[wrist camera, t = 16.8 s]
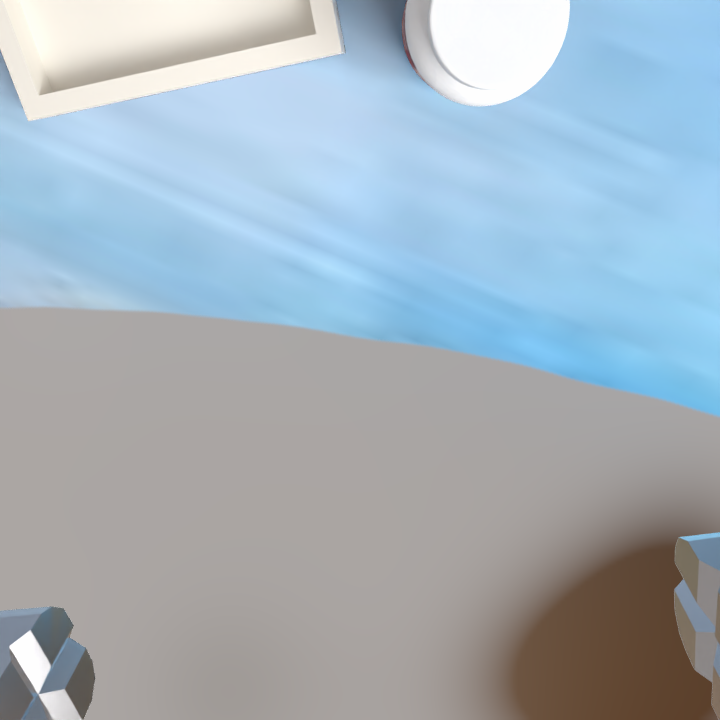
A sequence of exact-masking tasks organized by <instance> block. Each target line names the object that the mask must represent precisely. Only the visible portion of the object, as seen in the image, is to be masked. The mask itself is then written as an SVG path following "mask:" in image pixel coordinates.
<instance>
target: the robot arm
mask: <svg viewBox="0 0 720 720" xmlns="http://www.w3.org/2000/svg"><path fill="white" fill-rule="evenodd" d="M675 563H676V565H677V567H678V569H679V571H680V573H681V575H682V577H683V578H684V579H683V580H682V581H681V583H680V584H679V585H678V586H677V587H676V588H675V590H674V594H675V596H674V597H675V613H676V618H677V624H678V629H679V633H680V636H681V639H682V642H683V644H684V647H685V650H686V652H687V654H688V657H689V658H690V661H691V663H692V665H693V667H694V669H695V671H697V672H698V673H700V674H701V675H702V676H704V677H706V678H707V679H708V680H710V681H711V682H712V707H713V709H714V711H715V713H716V715H717V717H718V719H719V720H720V532H719V533H712V534H703V535H694V536H686V537H679V538H678V541H677V543H676V546H675ZM73 626H74V625H73V623H72V622H71V620H70V618H69V617H68V615H67V613H66V612H65V610H64V609H63V608H58V607H41V608H29V609H16V610H4V611H0V720H83V719H84V717H85V715H86V713H87V710H88V708H89V706H90V704H91V701H92V696H93V690H94V683H95V673H94V667H93V662H92V659H91V658H90V655H89V653H88V651H87V649H86V648H85V647H83V646H81V645H80V644H79V643H77V642H76V641H74V640H72V639H71V638H70V635H71V632H72V629H73Z"/></svg>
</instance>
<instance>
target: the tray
mask: <svg viewBox="0 0 720 720" xmlns="http://www.w3.org/2000/svg"><path fill="white" fill-rule="evenodd" d="M0 50H1V52H2V55H3V57H4V60H5V62H6V65H7V67H8V70H9V73H10V75H11V78H12V80H13V83H14V85H15V88H16V91H17V93H18V96H19V98H20V101H21V103H22V106H23V109H24V111H25V114H26V116H27V119H28V121H31V120H37V119H43V118H48V117H54V116H58V115H63V114H67V113H72V112H77V111H81V110H86V109H91V108H95V107H100V106H104V105H109V104H114V103H118V102H123V101H127V100H132V99H137V98H141V97H146V96H150V95H155V94H160V93H164V92H169V91H173V90H178V89H183V88H187V87H192V86H197V85H201V84H206V83H210V82H215V81H220V80H224V79H229V78H233V77H238V76H243V75H247V74H252V73H256V72H261V71H266V70H270V69H275V68H279V67H284V66H289V65H293V64H298V63H303V62H307V61H312V60H316V59H321V58H326V57H330V56H335V55H339V54H344V53H346V52H345V46H344V41H343V35H342V30H341V25H340V19H339V14H338V8H337V3H336V0H0Z"/></svg>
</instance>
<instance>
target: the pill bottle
mask: <svg viewBox="0 0 720 720" xmlns="http://www.w3.org/2000/svg"><path fill="white" fill-rule="evenodd" d="M569 10H570V1H569V0H407V1H406V4H405V8H404V13H403V19H402V37H403V44H404V48H405V51H406V54H407V57H408V59H409V61H410V64H411V65H412V67H413V69H414V70H415V72H416V73H417V74H418V75H419V76H420V78H421V79H422V80H423V81H425V82H426V83H427V84H428V85H429V86H430V87H431V88H432V89H434V90H435V91H436V92H438V93H439V94H440V95H442V96H444V97H445V98H447V99H449V100H452V101H454V102H457V103H460V104H464V105H469V106H490V105H495V104H499V103H503V102H506V101H508V100H511V99H513V98H515V97H517V96H519V95H521V94H522V93H524V92H526V91H527V90H528V89H530V88H531V87H532V86H533V85H535V84H536V83H537V82H538V81H539V80H540V79H541V78H542V77H543V76H544V74H545V73H546V72H547V71H548V69H549V68H550V67H551V65H552V64H553V62H554V60H555V59H556V57H557V55H558V53H559V51H560V49H561V46H562V44H563V41H564V38H565V35H566V31H567V27H568V21H569Z"/></svg>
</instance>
